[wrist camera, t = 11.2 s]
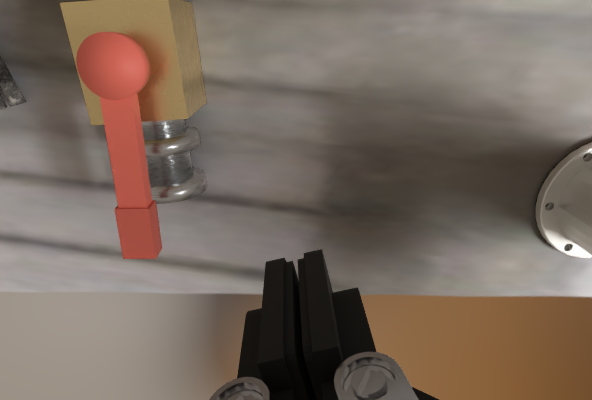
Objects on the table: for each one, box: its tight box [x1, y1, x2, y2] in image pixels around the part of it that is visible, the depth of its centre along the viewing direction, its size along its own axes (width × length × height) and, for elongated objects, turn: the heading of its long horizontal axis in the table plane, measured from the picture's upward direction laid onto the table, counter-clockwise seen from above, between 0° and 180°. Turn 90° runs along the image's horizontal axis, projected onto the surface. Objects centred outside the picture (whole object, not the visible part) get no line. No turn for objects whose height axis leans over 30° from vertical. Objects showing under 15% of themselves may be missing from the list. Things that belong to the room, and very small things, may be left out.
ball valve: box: [60, 0, 207, 204], centre depth 31 cm, size 7×22×9 cm, turn 4°
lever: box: [76, 32, 162, 259], centre depth 28 cm, size 16×4×2 cm, turn 0°
